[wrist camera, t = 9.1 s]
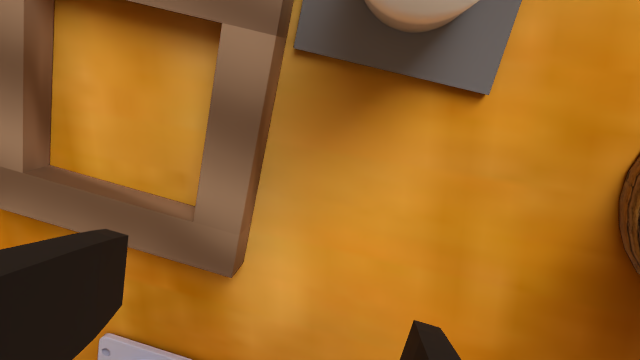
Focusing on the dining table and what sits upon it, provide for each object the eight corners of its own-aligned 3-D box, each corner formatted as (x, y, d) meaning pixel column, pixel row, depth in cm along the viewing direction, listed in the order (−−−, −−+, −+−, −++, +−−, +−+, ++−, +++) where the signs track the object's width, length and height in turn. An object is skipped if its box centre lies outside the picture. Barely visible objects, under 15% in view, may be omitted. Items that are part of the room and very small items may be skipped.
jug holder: (243, 262, 20) (231, 278, 19) (10, 193, 22) (-19, 203, 20) (297, -18, 17) (287, -26, 15) (10, -82, 18) (-26, -96, 16)
